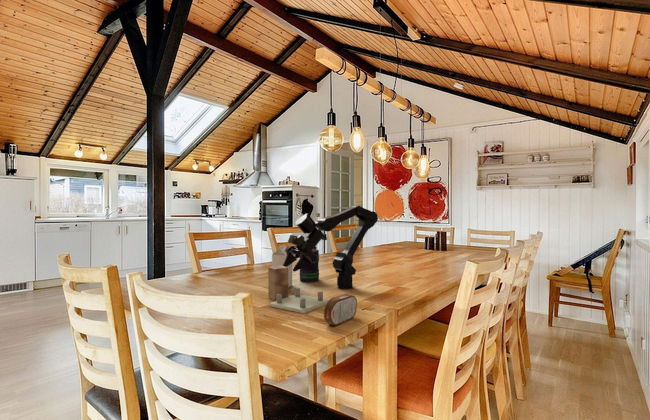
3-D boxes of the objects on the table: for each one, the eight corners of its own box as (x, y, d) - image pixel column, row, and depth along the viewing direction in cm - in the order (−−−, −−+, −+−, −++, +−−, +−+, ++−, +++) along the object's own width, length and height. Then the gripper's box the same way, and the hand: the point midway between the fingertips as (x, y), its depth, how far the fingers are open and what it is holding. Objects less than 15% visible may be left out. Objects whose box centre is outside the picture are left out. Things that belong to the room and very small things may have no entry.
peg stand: (296, 296, 147) (296, 286, 147) (329, 302, 138) (329, 291, 138) (269, 306, 134) (269, 295, 134) (304, 313, 125) (304, 301, 125)
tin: (351, 315, 123) (351, 290, 123) (358, 317, 121) (358, 292, 121) (323, 327, 111) (322, 300, 111) (331, 329, 109) (330, 301, 109)
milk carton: (272, 287, 163) (271, 246, 163) (278, 284, 170) (278, 244, 170) (286, 288, 161) (286, 246, 161) (292, 285, 168) (292, 244, 167)
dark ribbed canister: (316, 282, 173) (316, 251, 173) (297, 282, 175) (296, 251, 175) (321, 278, 183) (321, 249, 182) (302, 278, 185) (302, 248, 184)
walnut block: (281, 295, 150) (281, 265, 149) (288, 298, 144) (288, 267, 144) (268, 297, 146) (268, 266, 146) (274, 300, 141) (274, 269, 141)
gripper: (289, 227, 158) (266, 253, 152) (311, 229, 143) (286, 259, 137) (304, 243, 163) (282, 270, 157) (327, 248, 147) (304, 277, 141)
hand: (288, 269), depth 148 cm, fingers open, 9 cm apart
